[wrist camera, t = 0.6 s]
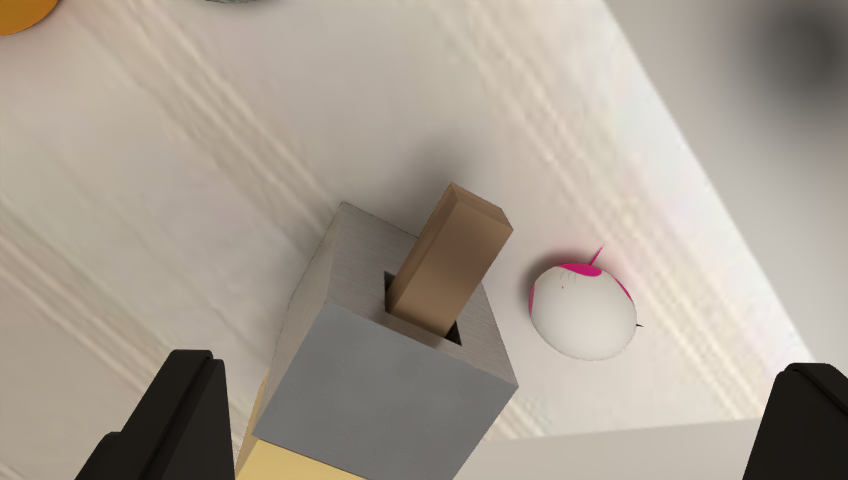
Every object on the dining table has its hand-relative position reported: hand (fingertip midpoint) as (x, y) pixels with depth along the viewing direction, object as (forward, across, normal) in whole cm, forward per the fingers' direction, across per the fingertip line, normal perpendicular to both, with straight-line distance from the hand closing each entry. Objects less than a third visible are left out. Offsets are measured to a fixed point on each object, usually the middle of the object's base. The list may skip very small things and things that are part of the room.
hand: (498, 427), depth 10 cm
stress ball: (+29, -11, +12) cm, 33 cm away
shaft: (+21, +2, +11) cm, 23 cm away
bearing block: (+28, +2, +12) cm, 31 cm away
